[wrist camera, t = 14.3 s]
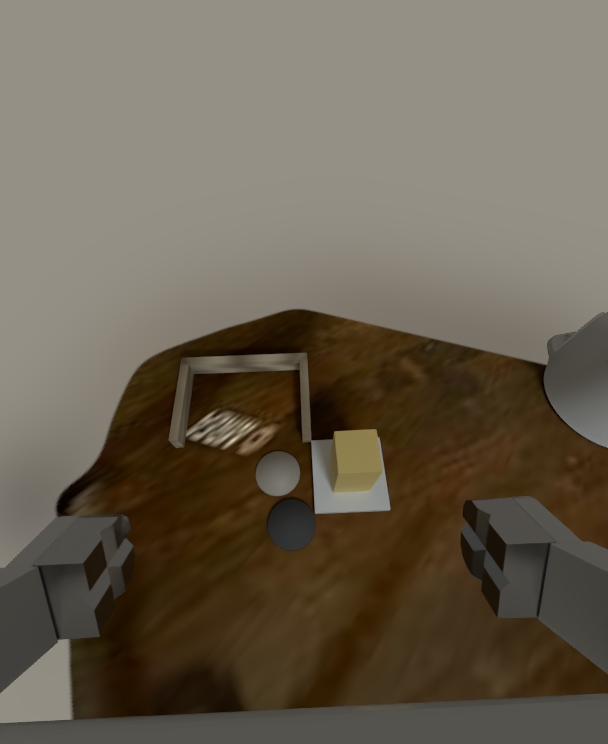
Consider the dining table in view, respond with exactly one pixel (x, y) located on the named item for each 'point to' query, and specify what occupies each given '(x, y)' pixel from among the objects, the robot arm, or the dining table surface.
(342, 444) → the ochre block
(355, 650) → the dining table surface
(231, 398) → the dining table surface
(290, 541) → the hole disc
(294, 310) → the dining table surface
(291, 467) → the painted circle
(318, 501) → the pad
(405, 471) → the dining table surface
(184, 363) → the cubby
